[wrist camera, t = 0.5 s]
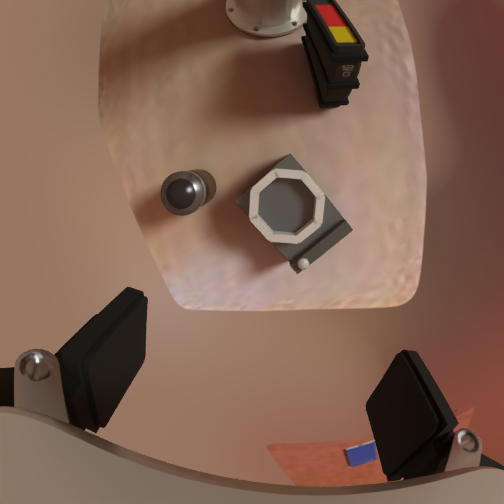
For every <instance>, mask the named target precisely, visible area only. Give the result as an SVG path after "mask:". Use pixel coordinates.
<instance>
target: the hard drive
mask: <svg viewBox="0 0 504 504" xmlns="http://www.w3.org/2000/svg"><path fill="white" fill-rule="evenodd" d="M345 450H346V453H347V456H348V460H349V463H350V466H351V467H354V466H357V465H361V464H364V463H367V462H371V461H374V460H376V459H377V453H376V445H375V440H372V441H369V442H366V443H362V444H359V445H356V446H353V447H349V448H345Z"/></svg>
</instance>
